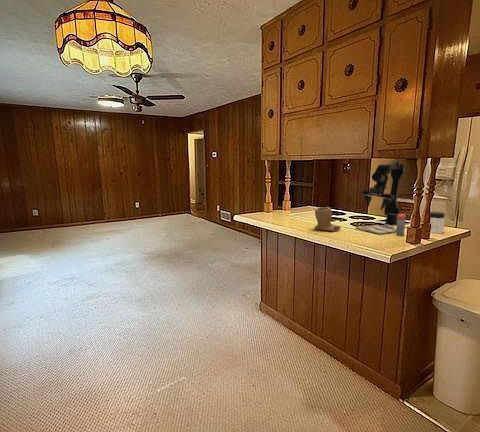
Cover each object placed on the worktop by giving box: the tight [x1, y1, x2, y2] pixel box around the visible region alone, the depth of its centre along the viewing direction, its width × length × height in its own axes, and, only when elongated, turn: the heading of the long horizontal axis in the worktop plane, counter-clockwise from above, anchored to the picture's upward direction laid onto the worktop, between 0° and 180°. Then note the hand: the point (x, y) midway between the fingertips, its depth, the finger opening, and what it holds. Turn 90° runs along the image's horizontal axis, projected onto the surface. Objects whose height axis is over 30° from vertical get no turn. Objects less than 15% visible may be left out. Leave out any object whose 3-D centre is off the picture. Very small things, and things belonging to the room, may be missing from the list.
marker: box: [395, 213, 407, 237], centre depth 175 cm, size 4×4×12 cm
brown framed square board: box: [355, 224, 397, 236], centre depth 189 cm, size 19×19×2 cm
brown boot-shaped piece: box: [314, 206, 342, 232], centre depth 189 cm, size 15×12×15 cm
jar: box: [430, 211, 446, 234], centre depth 182 cm, size 9×8×12 cm
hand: (374, 208), depth 187 cm, fingers open, 9 cm apart
